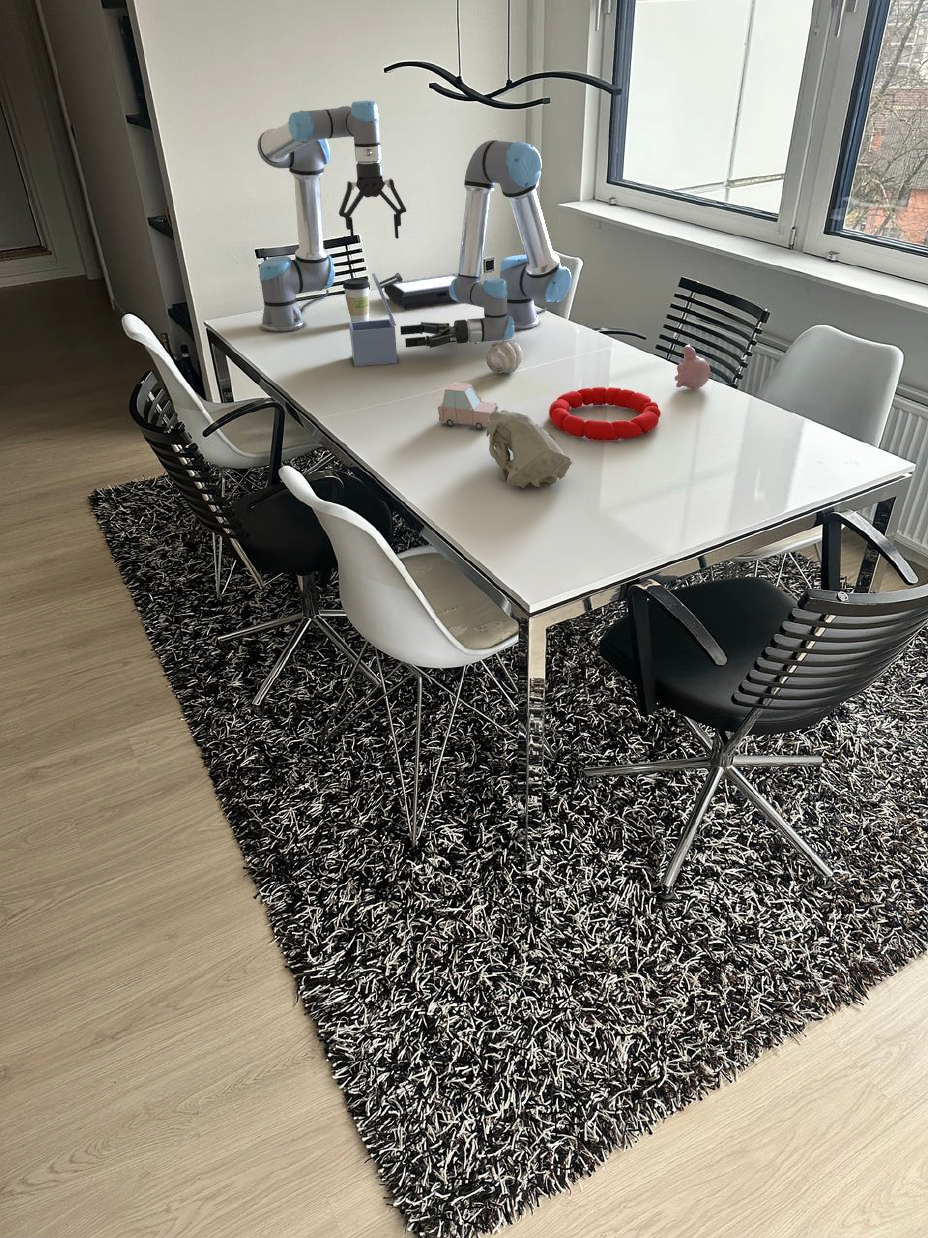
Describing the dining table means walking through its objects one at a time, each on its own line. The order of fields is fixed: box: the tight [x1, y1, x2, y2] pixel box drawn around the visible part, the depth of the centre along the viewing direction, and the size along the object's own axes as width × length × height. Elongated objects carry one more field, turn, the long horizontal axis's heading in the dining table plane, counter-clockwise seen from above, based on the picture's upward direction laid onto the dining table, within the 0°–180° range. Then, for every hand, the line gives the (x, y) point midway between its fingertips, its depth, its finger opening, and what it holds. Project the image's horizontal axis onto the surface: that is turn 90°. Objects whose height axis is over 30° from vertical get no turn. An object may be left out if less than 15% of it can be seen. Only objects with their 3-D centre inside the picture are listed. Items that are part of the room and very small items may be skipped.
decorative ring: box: [548, 386, 661, 442], centre depth 242 cm, size 7×30×30 cm
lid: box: [371, 272, 404, 327], centre depth 283 cm, size 15×10×8 cm
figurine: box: [674, 344, 711, 390], centre depth 259 cm, size 9×11×12 cm
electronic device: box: [383, 273, 459, 311], centre depth 349 cm, size 32×6×20 cm
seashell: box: [485, 340, 523, 374], centre depth 276 cm, size 10×15×10 cm
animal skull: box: [485, 409, 573, 489], centre depth 216 cm, size 17×25×20 cm
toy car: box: [437, 382, 499, 431], centre depth 243 cm, size 9×15×10 cm, turn 70°
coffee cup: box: [342, 277, 371, 322], centre depth 323 cm, size 10×10×15 cm
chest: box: [348, 318, 398, 367], centre depth 290 cm, size 14×10×11 cm
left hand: (374, 239), depth 272 cm, fingers open, 13 cm apart
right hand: (402, 336), depth 291 cm, fingers open, 13 cm apart
